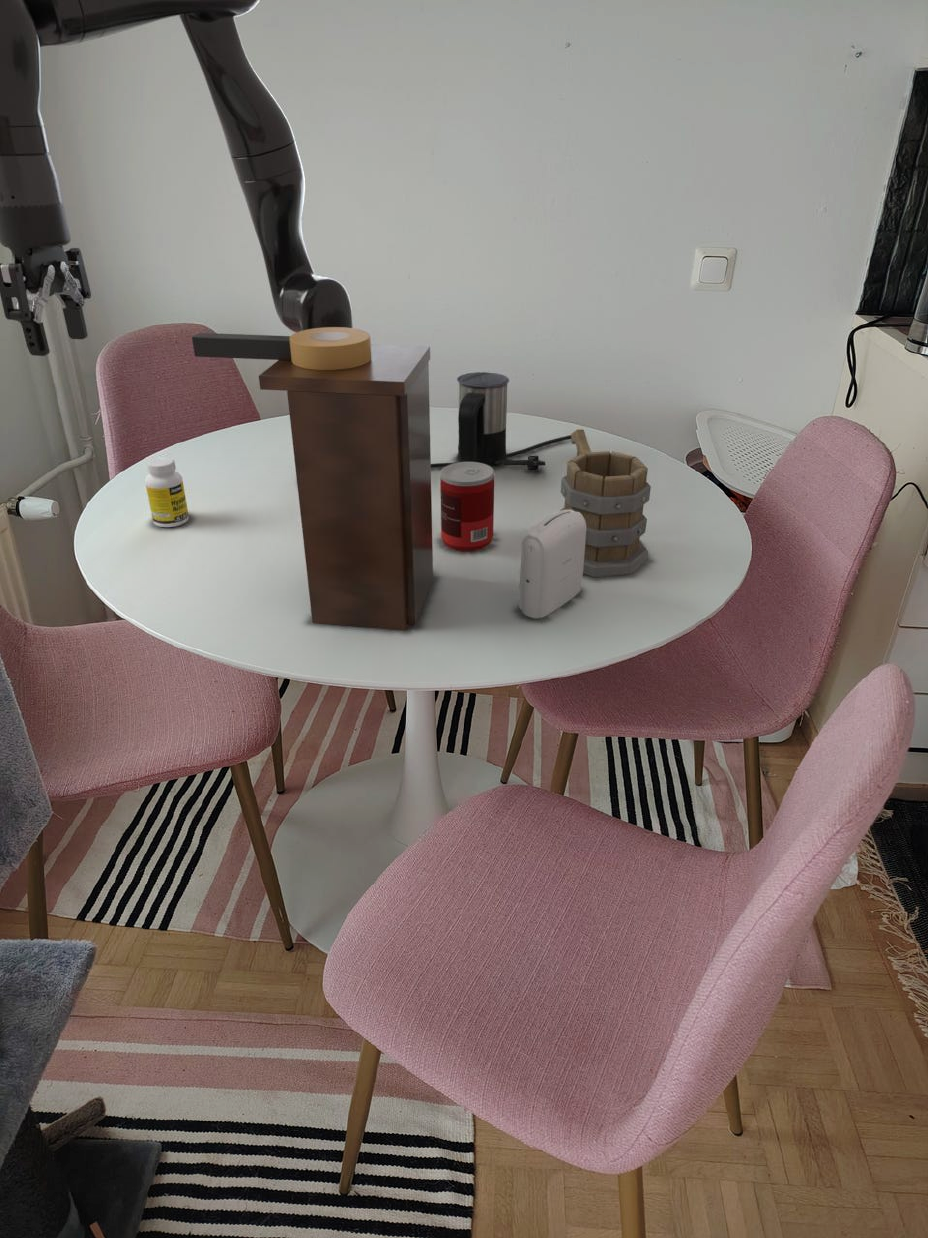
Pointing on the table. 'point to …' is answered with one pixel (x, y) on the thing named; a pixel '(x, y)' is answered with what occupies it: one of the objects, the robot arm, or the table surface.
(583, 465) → the tankard
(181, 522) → the supplement bottle
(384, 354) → the wooden cabinet
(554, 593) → the photo printer
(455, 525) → the canned food
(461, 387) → the milk frother
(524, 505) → the table surface
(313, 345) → the disc with black handle
